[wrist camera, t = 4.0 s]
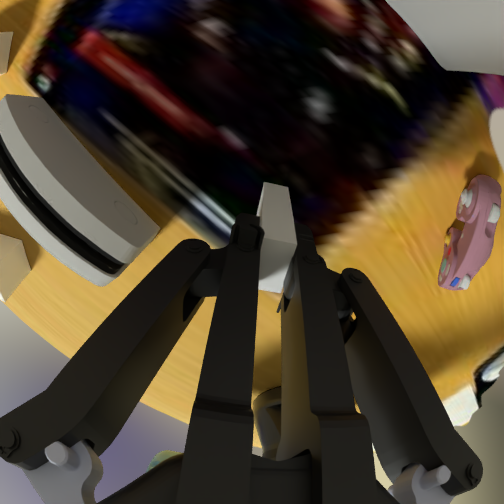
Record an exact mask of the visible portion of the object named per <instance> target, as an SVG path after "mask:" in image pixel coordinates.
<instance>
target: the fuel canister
mask: <svg viewBox="0 0 504 504" xmlns="http://www.w3.org/2000/svg"><path fill="white" fill-rule="evenodd" d="M385 1H386V2H387V3H388V4H389V5H390V6H391V7H392V8H393V9H394V10H395V11H396V12H397V13H398V14H399V15H400V16H401V17H402V18H403V19H404V21H405V22H406V23H407V24H408V25H409V26H410V27H411V29H412V30H413V31H414V32H415V33H416V34H417V36H418V37H419V38H420V39H421V41H422V42H423V43H424V44H425V46H426V47H427V48H428V50H429V51H430V52H431V54H432V55H433V56H434V58H435V59H436V61H437V62H438V63H439V64H440V66H442V67H443V68H444V69H446V70H451V71H468V72H479V73H488V74H496V75H502V76H504V0H385Z"/></svg>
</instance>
